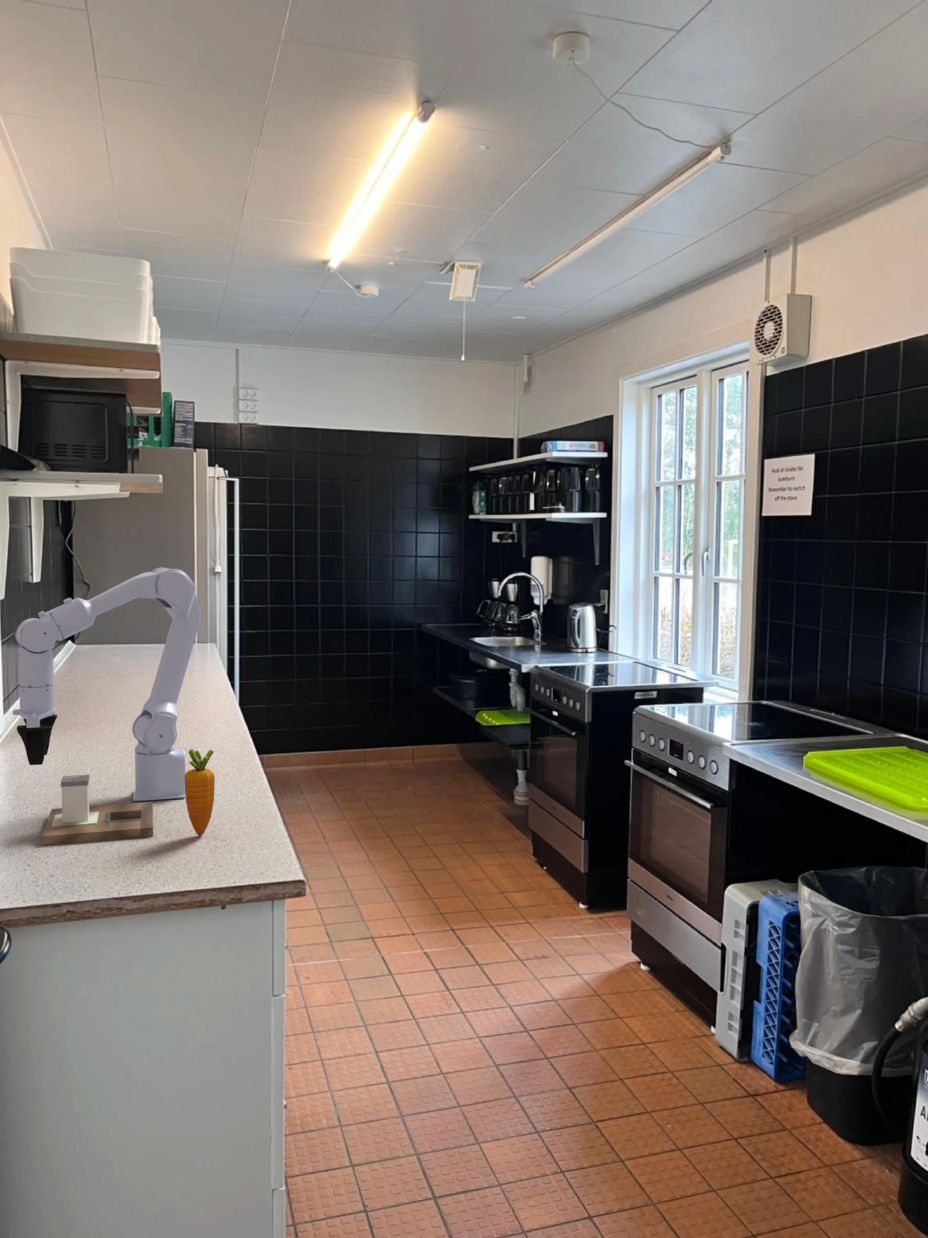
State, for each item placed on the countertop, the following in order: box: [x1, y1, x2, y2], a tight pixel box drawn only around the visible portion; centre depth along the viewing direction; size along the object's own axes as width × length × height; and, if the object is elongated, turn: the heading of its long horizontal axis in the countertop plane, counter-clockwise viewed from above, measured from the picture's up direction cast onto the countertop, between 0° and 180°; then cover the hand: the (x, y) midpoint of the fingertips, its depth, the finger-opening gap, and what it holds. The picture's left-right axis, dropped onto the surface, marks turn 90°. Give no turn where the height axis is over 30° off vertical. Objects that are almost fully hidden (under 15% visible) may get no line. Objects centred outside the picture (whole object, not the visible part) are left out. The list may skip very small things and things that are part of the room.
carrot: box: [185, 748, 216, 837], centre depth 157 cm, size 5×5×15 cm
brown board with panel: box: [41, 801, 154, 846], centre depth 162 cm, size 17×16×2 cm
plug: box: [60, 774, 90, 823], centre depth 160 cm, size 4×4×7 cm
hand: (38, 759), depth 170 cm, fingers open, 7 cm apart
